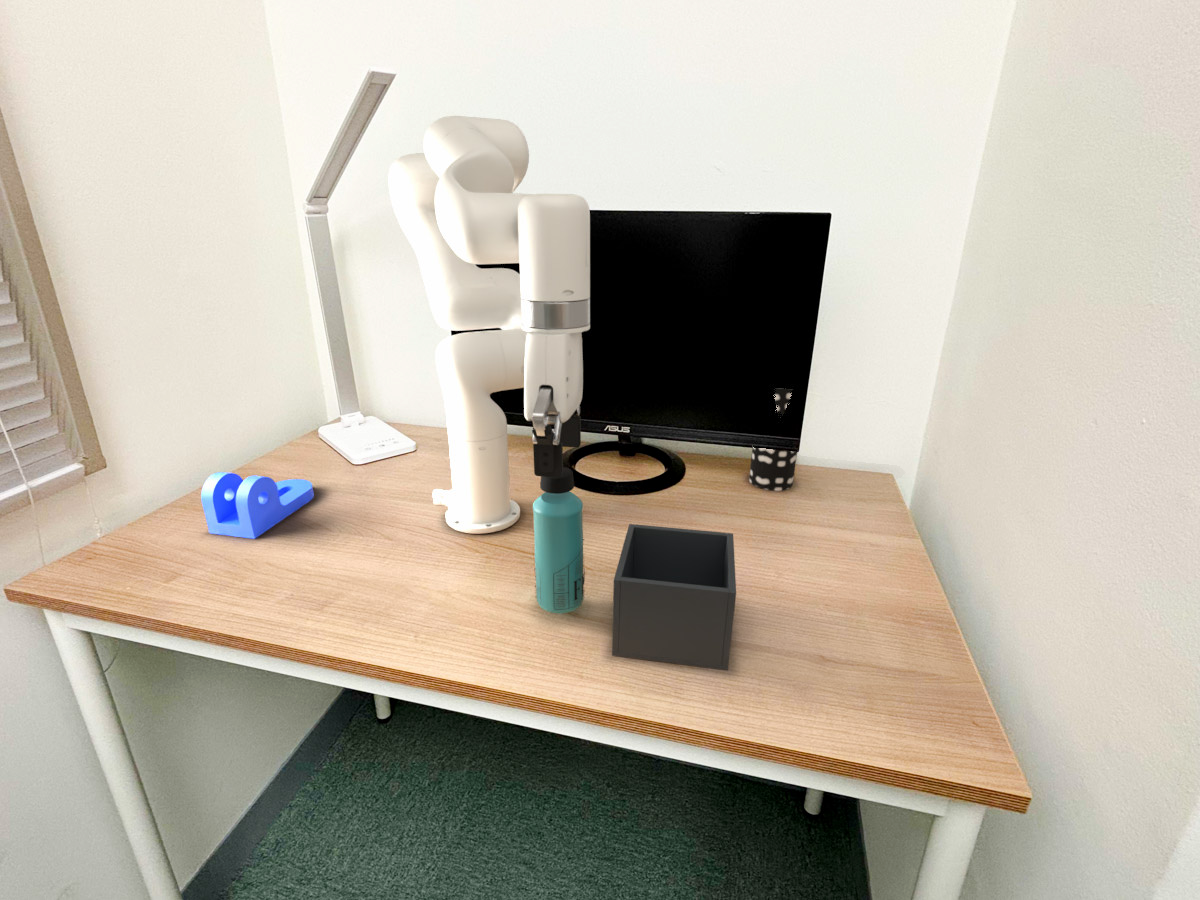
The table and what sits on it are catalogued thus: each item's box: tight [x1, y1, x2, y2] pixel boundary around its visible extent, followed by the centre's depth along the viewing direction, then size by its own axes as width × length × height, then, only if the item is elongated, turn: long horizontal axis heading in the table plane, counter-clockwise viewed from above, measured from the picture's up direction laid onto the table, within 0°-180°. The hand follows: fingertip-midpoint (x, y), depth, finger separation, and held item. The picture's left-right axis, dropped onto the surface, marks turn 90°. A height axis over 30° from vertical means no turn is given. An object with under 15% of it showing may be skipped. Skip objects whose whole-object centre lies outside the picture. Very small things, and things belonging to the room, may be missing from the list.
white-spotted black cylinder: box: [748, 388, 798, 492], centre depth 117 cm, size 8×8×20 cm
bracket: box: [200, 471, 315, 540], centre depth 106 cm, size 18×8×9 cm, turn 169°
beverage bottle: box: [532, 466, 586, 614], centre depth 78 cm, size 6×7×20 cm
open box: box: [611, 523, 737, 671], centre depth 77 cm, size 14×14×11 cm
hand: (558, 460), depth 74 cm, fingers open, 9 cm apart
